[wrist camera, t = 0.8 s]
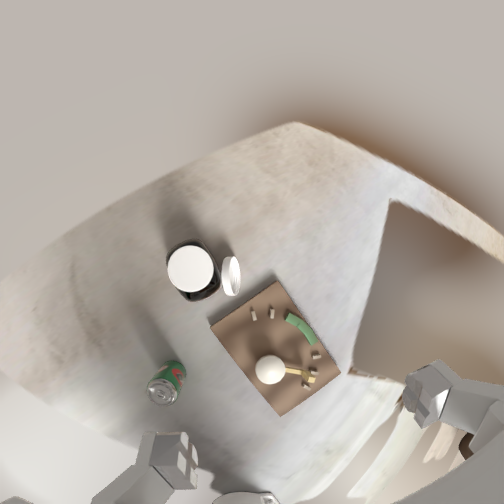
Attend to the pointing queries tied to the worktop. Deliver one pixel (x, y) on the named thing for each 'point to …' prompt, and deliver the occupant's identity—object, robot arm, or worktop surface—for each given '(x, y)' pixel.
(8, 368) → the worktop surface
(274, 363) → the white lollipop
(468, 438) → the plant pot
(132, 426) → the worktop surface
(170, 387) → the soda can
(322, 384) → the gauge board
